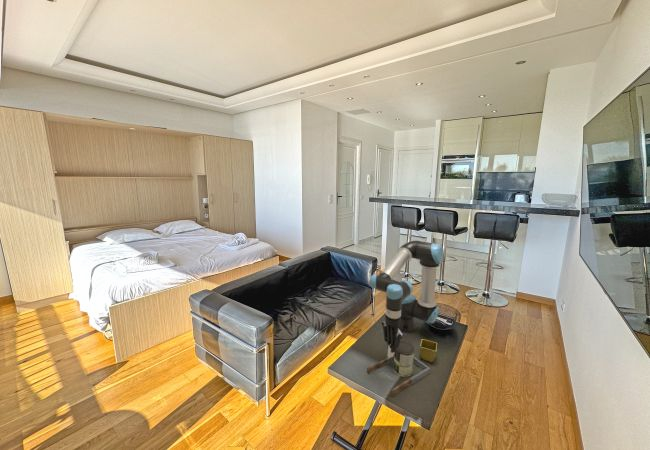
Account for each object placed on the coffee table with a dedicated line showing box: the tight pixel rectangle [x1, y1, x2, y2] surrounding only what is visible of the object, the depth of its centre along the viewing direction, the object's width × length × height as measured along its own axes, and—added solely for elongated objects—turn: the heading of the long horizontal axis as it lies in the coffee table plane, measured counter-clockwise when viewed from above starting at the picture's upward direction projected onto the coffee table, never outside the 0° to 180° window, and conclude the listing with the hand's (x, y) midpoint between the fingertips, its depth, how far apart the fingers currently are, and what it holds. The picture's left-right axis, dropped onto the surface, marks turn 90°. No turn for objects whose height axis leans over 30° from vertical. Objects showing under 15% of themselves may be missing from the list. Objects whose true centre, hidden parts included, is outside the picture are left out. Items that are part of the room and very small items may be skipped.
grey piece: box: [385, 356, 431, 386], centre depth 143 cm, size 15×18×3 cm
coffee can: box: [392, 340, 415, 378], centre depth 141 cm, size 10×10×14 cm
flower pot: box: [419, 338, 438, 363], centre depth 151 cm, size 9×9×9 cm
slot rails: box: [366, 358, 412, 397], centre depth 136 cm, size 14×18×3 cm
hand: (390, 356), depth 134 cm, fingers closed
